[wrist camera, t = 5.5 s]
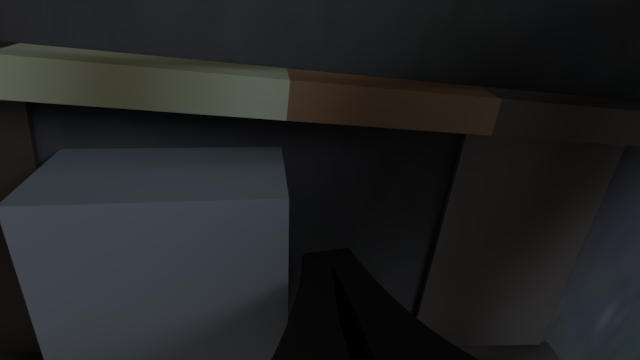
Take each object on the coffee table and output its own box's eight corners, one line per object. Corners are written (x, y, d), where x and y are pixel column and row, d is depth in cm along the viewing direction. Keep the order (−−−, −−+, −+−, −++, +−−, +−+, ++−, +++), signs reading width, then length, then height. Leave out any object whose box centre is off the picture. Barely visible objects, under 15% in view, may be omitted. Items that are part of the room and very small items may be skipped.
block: (280, 143, 13) (289, 198, 10) (281, 303, 15) (287, 387, 12) (63, 146, 12) (-5, 206, 9) (101, 313, 14) (59, 407, 11)
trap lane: (653, 102, 14) (696, 116, 12) (539, 360, 18) (562, 391, 17) (-124, 29, 10) (-183, 38, 9) (-24, 373, 14) (-53, 414, 13)
